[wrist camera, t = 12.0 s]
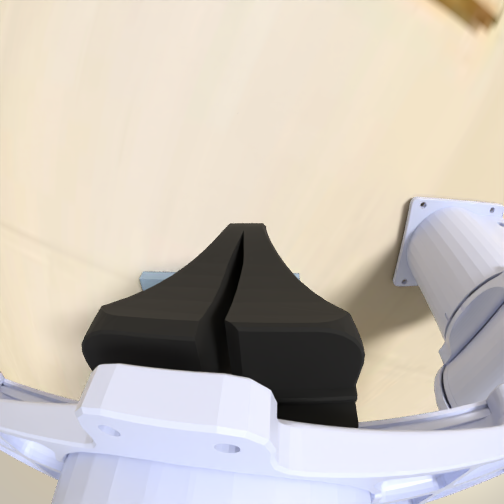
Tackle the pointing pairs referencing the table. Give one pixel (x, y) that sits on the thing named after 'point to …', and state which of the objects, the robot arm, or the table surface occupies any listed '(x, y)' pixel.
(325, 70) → the table surface
